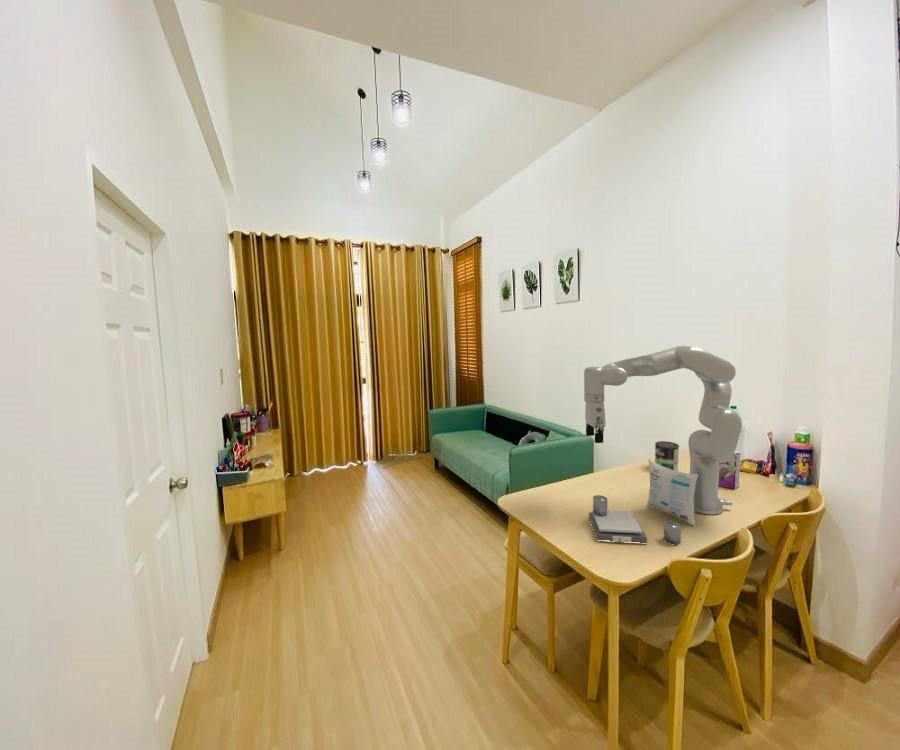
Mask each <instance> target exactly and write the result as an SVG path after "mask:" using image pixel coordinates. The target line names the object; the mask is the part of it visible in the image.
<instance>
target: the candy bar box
mask: <svg viewBox="0 0 900 750" xmlns="http://www.w3.org/2000/svg"><path fill="white" fill-rule="evenodd" d="M741 454H742V453H741V452H740V451H736V450H735V453H734V455H733V457H732V458H731V459H730V460H729V461H727V462H725V463H719V487H723V488H726V489H730V490H734V491H735V490H736V489H738V488H739V487H740V469H741Z"/></svg>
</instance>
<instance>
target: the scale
mask: <svg viewBox="0 0 900 750" xmlns="http://www.w3.org/2000/svg"><path fill="white" fill-rule="evenodd" d="M589 518H590V520H589V522H590V521H591V523H590V525H591V524H592V526H591V528H592V527H593V529H594V531H593V533H594V532H595V534H594V536H595V535H596V537H595V538H597V540H610V541H615V542H640V543H647V544H648V537H647V535H646V533H645V532H644V530H643V529H642V527H641V525H640V524H639V521H638V520H637V518H636V517H635V515H634V513H633V512H632V511H629V510H608V509H607V516H603V517H602V516H597V515H595V514H594V513H593V509H592V510H591V511H589V512H588V519H589ZM593 529H592V530H593ZM597 540H596V541H597Z"/></svg>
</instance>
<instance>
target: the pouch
mask: <svg viewBox="0 0 900 750" xmlns="http://www.w3.org/2000/svg"><path fill="white" fill-rule="evenodd" d="M648 467H649V490H648V499H647V503H646V507H651V508H655V509H658V510H661V511H664V512H666V513H669V514H671V515H673V516H675V517H677V518H678V519H681V520H683V521H685V522H687V523H688V524H690V525H691V526H693V527H695V528H696V520H695V511H694V492H695V484H696V480H697V477H698V474H690V473H686V472H682V471H679V470H678V471H674V470H671V469H669V468H666V467H664V466H661V465H659V464H657V463H655V461H653V460H652V459H648Z"/></svg>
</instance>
